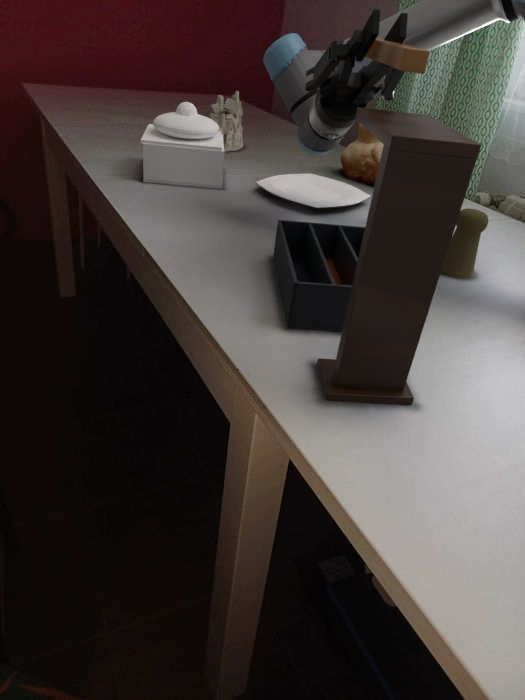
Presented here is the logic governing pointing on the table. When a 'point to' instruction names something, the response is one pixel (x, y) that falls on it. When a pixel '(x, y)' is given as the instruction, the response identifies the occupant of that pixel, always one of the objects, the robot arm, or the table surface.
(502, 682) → the table surface
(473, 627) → the table surface
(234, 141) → the miniature castle sculpture
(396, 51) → the bar
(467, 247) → the cork
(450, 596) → the table surface
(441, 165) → the shelf stand
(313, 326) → the slot rack
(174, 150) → the butter dish
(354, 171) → the ceramic vessel
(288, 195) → the plate
